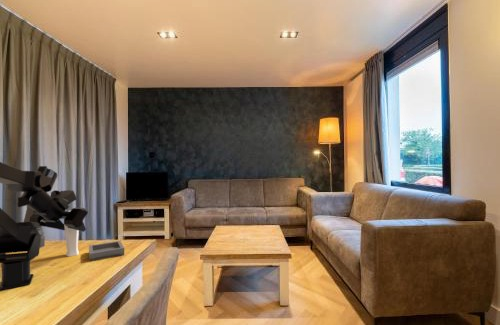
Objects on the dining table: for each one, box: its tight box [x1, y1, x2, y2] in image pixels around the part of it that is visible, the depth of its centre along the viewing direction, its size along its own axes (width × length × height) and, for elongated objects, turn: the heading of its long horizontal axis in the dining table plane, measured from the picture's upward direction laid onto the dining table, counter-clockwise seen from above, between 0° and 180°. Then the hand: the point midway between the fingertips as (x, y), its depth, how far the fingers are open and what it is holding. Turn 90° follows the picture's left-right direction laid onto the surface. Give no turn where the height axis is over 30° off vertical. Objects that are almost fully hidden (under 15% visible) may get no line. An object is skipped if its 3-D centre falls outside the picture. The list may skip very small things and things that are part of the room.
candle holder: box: [23, 205, 46, 248], centre depth 102 cm, size 6×6×25 cm
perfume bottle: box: [64, 210, 80, 257], centre depth 93 cm, size 5×4×15 cm
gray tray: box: [88, 240, 125, 262], centre depth 93 cm, size 10×10×2 cm
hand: (74, 229), depth 94 cm, fingers open, 8 cm apart
